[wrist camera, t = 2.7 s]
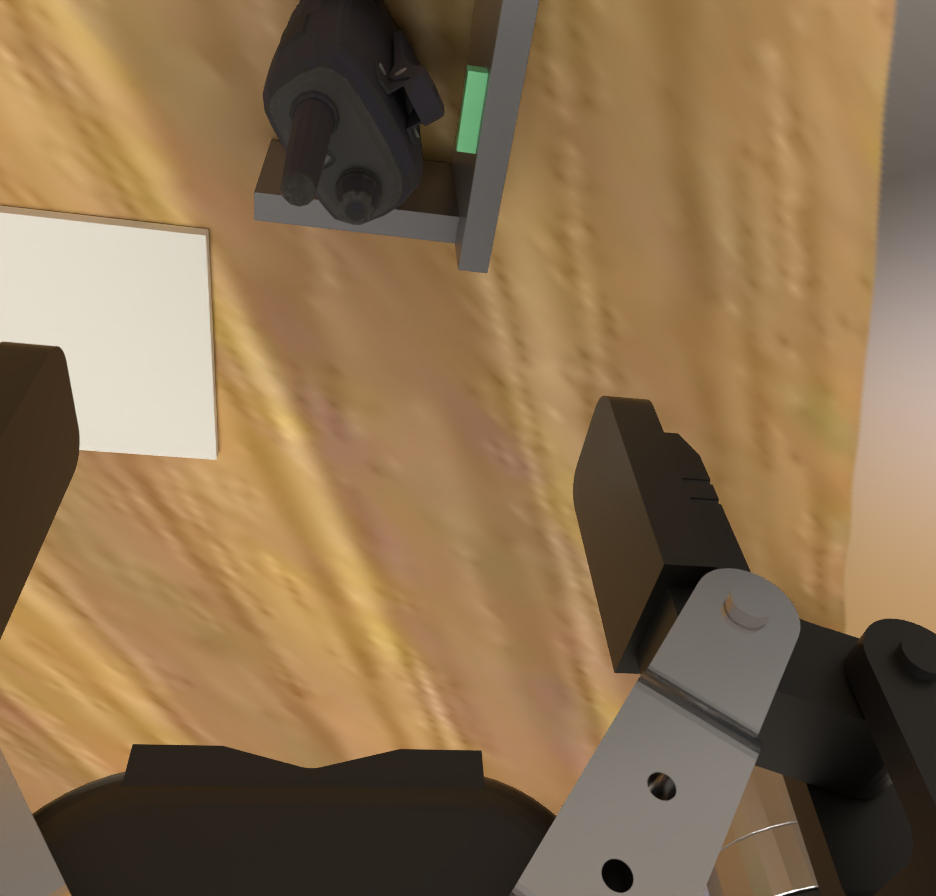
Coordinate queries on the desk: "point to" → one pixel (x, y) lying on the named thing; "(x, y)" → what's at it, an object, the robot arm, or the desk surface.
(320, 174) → the two-way radio
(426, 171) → the dock
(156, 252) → the mat
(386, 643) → the desk surface
